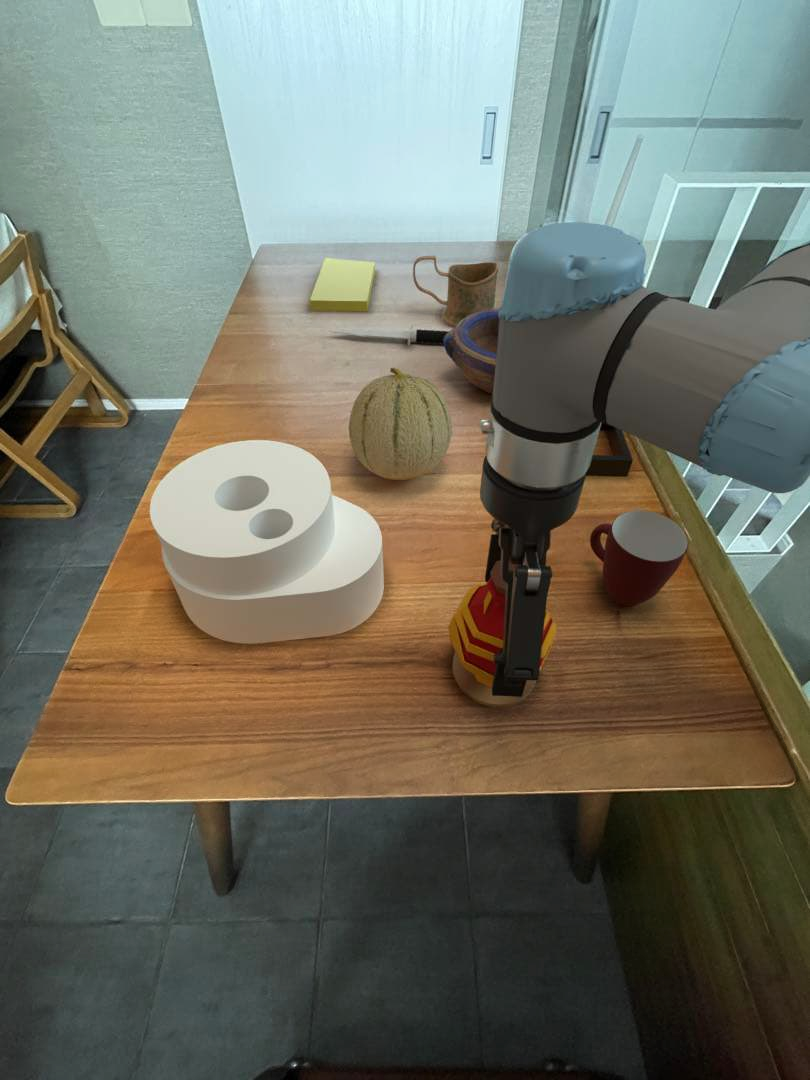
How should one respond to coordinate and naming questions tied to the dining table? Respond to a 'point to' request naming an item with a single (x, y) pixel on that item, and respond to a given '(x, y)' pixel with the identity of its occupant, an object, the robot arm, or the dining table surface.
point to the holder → (612, 464)
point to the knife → (400, 335)
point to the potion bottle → (487, 627)
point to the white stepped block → (266, 545)
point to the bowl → (475, 347)
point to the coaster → (484, 688)
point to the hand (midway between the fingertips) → (501, 631)
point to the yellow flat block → (343, 286)
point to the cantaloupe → (400, 426)
